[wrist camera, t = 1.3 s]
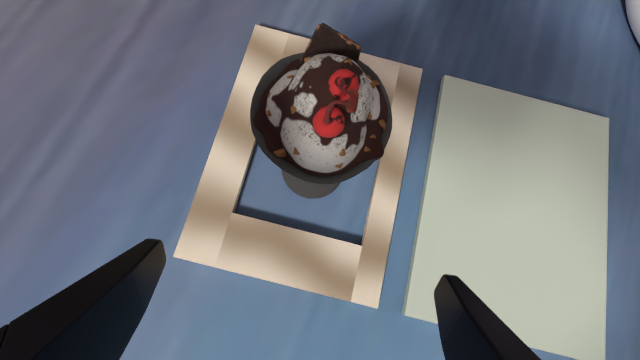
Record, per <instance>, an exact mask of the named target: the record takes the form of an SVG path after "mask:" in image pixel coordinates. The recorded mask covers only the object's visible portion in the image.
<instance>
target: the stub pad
mask: <svg viewBox="0 0 640 360" xmlns="http://www.w3.org/2000/svg"><path fill="white" fill-rule="evenodd" d="M608 160H609V118H606V117H603V116H599V115H595V114H591V113H587V112H584V111H580V110H576V109H572V108H569V107H565V106H561V105H557V104H553V103H550V102H546V101H542V100H538V99H535V98H531V97H527V96H523V95H519V94H516V93H512V92H508V91H504V90H501V89H497V88H493V87H489V86H485V85H482V84H478V83H474V82H470V81H467V80H463V79H459V78H455V77H452V76H448V75H444V76H443V77H442V79H441V85H440V91H439V97H438V102H437V108H436V114H435V120H434V126H433V132H432V138H431V144H430V150H429V156H428V162H427V168H426V173H425V179H424V185H423V191H422V197H421V203H420V209H419V215H418V221H417V227H416V233H415V238H414V244H413V250H412V256H411V262H410V268H409V274H408V280H407V286H406V292H405V298H404V303H403V309H402V314H403V315H405V316H409V317H413V318H417V319H421V320H425V321H429V322H433V323H436V324H438V320H437V313H436V307H435V301H434V290H435V288H436V286H437V284H438V282H439V280H440V279H441V277H442V275H444V274H450V275H456V276H458V277H459V278H460V279H461V280H462V281H463V282H464V283H465V284H466V285H467V286H468V287H469V288H470V289H471V290H472V291H473V292H474V293H475V294H476V295H477V296H478V297H479V298H480V299H481V300H482V301H483V302H484V303H485V304H486V305H487V306H488V307H489V308H490V309H491V310H492V311H493V312H494V313H495V314H496V315H497V316H498V317H499V318H500V319H501V320H502V321H503V322H504V323H505V324H506V325H507V326H508V327H509V328H510V329H511V330H512V331H513V332H514V333H515V334H516V335H517V336H518V337H519V338H520V339H521V340H522V341H523V342H524V343H525V344H526V345H527V346H528V347H531V348H535V349H539V350H543V351H547V352H551V353H555V354H559V355H563V356H567V357H570V358H574V359H578V360H605V338H606V279H607V219H608Z"/></svg>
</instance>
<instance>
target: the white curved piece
mask: <svg viewBox="0 0 640 360" xmlns="http://www.w3.org/2000/svg"><path fill="white" fill-rule="evenodd" d="M625 3H626V12H627V17H628V21H629V24H630V27H631V29H632V31H633V34H634V36H635V37H636V39H637V41H638V43H639V45H640V0H625Z"/></svg>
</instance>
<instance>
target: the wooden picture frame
mask: <svg viewBox="0 0 640 360" xmlns="http://www.w3.org/2000/svg"><path fill="white" fill-rule="evenodd" d="M309 41H310V39H308V38H304V37H301V36H297V35H293V34H289V33H285V32H282V31H278V30H274V29H270V28H267V27H263V26H259V25H255V28H254V30H253V33H252V36H251V39H250V42H249V45H248V47H247V50H246V53H245V56H244V59H243V61H242V64H241V67H240V70H239V73H238V76H237V78H236V81H235V84H234V87H233V90H232V92H231V95H230V98H229V101H228V104H227V107H226V109H225V112H224V115H223V118H222V121H221V123H220V126H219V129H218V132H217V135H216V138H215V140H214V143H213V146H212V149H211V152H210V155H209V157H208V160H207V163H206V166H205V169H204V171H203V174H202V177H201V180H200V183H199V186H198V188H197V191H196V194H195V197H194V200H193V202H192V205H191V208H190V211H189V214H188V217H187V219H186V222H185V225H184V228H183V231H182V233H181V236H180V239H179V242H178V245H177V248H176V250H175V253H174V256H173V257H176V258H180V259H184V260H188V261H192V262H196V263H200V264H204V265H208V266H212V267H216V268H220V269H224V270H228V271H232V272H235V273H239V274H243V275H247V276H251V277H255V278H259V279H263V280H267V281H271V282H275V283H279V284H283V285H287V286H291V287H295V288H299V289H302V290H306V291H310V292H314V293H318V294H322V295H326V296H330V297H334V298H338V299H342V300H346V301H350V302H354V303H358V304H362V305H366V306H369V307H373V308H377V309H378V304H379V299H380V294H381V288H382V283H383V278H384V272H385V267H386V262H387V256H388V251H389V246H390V240H391V235H392V230H393V225H394V219H395V214H396V209H397V203H398V198H399V193H400V187H401V182H402V177H403V171H404V166H405V161H406V155H407V150H408V145H409V139H410V134H411V129H412V123H413V118H414V113H415V107H416V102H417V97H418V91H419V86H420V81H421V75H422V70H423V69H421V68H418V67H414V66H410V65H406V64H402V63H399V62H395V61H391V60H387V59H384V58H380V57H376V56H372V55H368V54H365V53H361V52H360V56H359V60H360V61H361V62H363V63H364V64H366V65H367V66H369V67H370V68H371V69H372V70H373V71H374V72H375V73H376V74H377V75H378V77H379V79H380V80H381V82H382V84H383V86H384V87H385V90H386V92H387V95H388V97H389V101H390V106H391V112H392V131H391V134H390V138H389V140H388V143H387V145H386V148H385V149H384V155H383V156H382V157H381V158H380V159H379V161H378V166H377V171H376V175H375V180H374V185H373V190H372V194H371V199H370V204H369V209H368V213H367V218H366V223H365V228H364V232H363V237H362V242H361V245H357V244H353V243H349V242H345V241H341V240H337V239H333V238H329V237H325V236H321V235H318V234H314V233H310V232H306V231H302V230H298V229H294V228H290V227H286V226H282V225H279V224H275V223H271V222H267V221H263V220H259V219H255V218H251V217H247V216H243V215H240V214H236V213H234V211H235V208H236V205H237V201H238V198H239V195H240V192H241V189H242V186H243V183H244V179H245V176H246V173H247V170H248V167H249V164H250V161H251V158H252V154H253V151H254V148H255V145H256V142H257V141H256V139H255V137H254V135H253V132H252V129H251V123H250V109H251V102H252V97H253V95H254V92H255V89H256V87H257V85H258V83H259V81H260V79H261V77H262V76H263V75H264V74H265V72H266V71H267V70H268V69H269V68H270V67H271V66H272V65H274V64H275V63H276V62H278V61H279V60H280V59H282V58H285V57H288V56H291V55H293V54H298V53H303V52H305V50H306V48H307V46H308V44H309Z"/></svg>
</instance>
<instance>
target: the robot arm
mask: <svg viewBox="0 0 640 360" xmlns="http://www.w3.org/2000/svg"><path fill="white" fill-rule="evenodd" d="M165 263H166V255H165V250H164V246H163V242H162V241H161V240H158V239H146V240H144V241H142V242H141V243H139V244H137V245H136V246H134V247H132V248H131V249H129V250H127V251H126V252H124V253H123V254H121V255H119V256H118V257H116V258H114V259H113V260H111V261H109V262H108V263H106V264H105V265H103V266H101V267H100V268H98V269H96V270H95V271H93V272H91V273H90V274H88V275H86V276H85V277H83V278H82V279H80V280H78V281H77V282H75V283H73V284H72V285H70V286H68V287H67V288H65V289H64V290H62V291H60V292H59V293H57V294H55V295H54V296H52V297H50V298H49V299H47V300H46V301H44V302H42V303H41V304H39V305H37V306H36V307H34V308H32V309H31V310H29V311H28V312H26V313H24V314H23V315H21V316H19V317H18V318H16V319H14V320H13V321H11V322H10V324H9V325H8V324H7V325H4V326H3V327H1V328H0V360H119V359H120V357H121V355H122V354H123V352H124V350H125V348H126V346H127V345H128V343H129V341H130V339H131V337H132V335H133V334H134V332H135V330H136V328H137V326H138V325H139V323H140V321H141V319H142V317H143V315H144V313H145V311H146V309H147V307H148V305H149V302H150V300H151V297H152V295H153V293H154V290H155V288H156V286H157V283H158V281H159V278H160V276H161V274H162V271H163V269H164V266H165ZM434 301H435V307H436V313H437V320H438V326H439V332H440V338H441V344H442V348H443V352H444V356H445V360H541V359H540V358H539V357H538V356H537V355H536V354H535V353H534V352H533V351H532V350H531V349H530V348H529V347H528V346H527V345H526V344H525V343H524V342H523V341H522V340H521V339H520V338H519V337H518V336H517V335H516V334H515V333H514V332H513V331H512V330H511V329H510V328H509V327H508V326H507V325H506V324H505V323H504V322H503V321H502V320H501V319H500V318H499V317H498V316H497V315H496V314H495V313H494V312H493V311H492V310H491V309H490V308H489V307H488V306H487V305H486V304H485V303H484V302H483V301H482V300H481V299H480V298H479V297H478V296H477V295H476V294H475V293H474V292H473V291H472V290H471V289H470V288H469V287H468V286H467V285H466V284H465V283H464V282H463V281H462V280H461V279H460V278H459V277H458V276H456V275H450V274H444V275H442V277H441V279H440V280H439V282H438V284H437V286H436V288H435V290H434Z"/></svg>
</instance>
